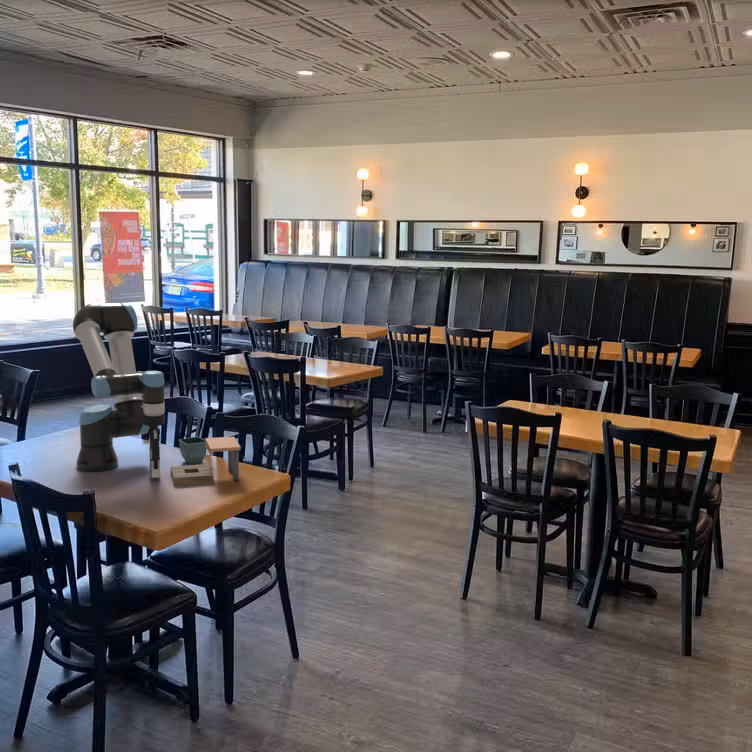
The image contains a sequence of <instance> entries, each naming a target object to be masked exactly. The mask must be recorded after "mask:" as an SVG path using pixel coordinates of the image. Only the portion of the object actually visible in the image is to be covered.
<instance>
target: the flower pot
mask: <svg viewBox="0 0 752 752" xmlns="http://www.w3.org/2000/svg"><path fill="white" fill-rule="evenodd" d="M178 445H179V450H180V454H181V456H182V459H183V460H184V462H186V463H188V464H189V465H195V464H199V463H202V462H203V461H204V459H205V457H206V454H207V451H208V450H207V448H206V446H205V438H202V437H200V436H193V437H188V438H180V439H178Z"/></svg>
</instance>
